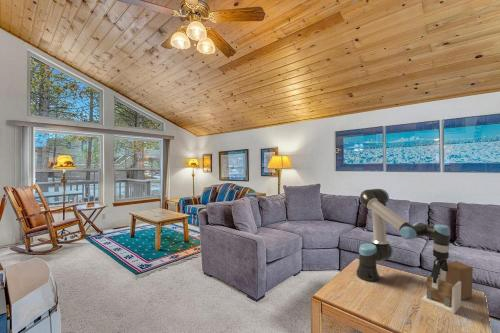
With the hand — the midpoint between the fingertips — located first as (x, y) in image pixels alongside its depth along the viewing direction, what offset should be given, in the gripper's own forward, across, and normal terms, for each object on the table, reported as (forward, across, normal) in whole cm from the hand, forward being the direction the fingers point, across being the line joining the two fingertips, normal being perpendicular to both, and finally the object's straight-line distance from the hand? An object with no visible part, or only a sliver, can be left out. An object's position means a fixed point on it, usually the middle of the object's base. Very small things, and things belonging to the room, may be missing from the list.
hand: (438, 284), depth 147 cm
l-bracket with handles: (+11, 0, -1) cm, 11 cm away
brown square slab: (+10, 0, -1) cm, 10 cm away
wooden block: (+12, +20, -5) cm, 23 cm away
